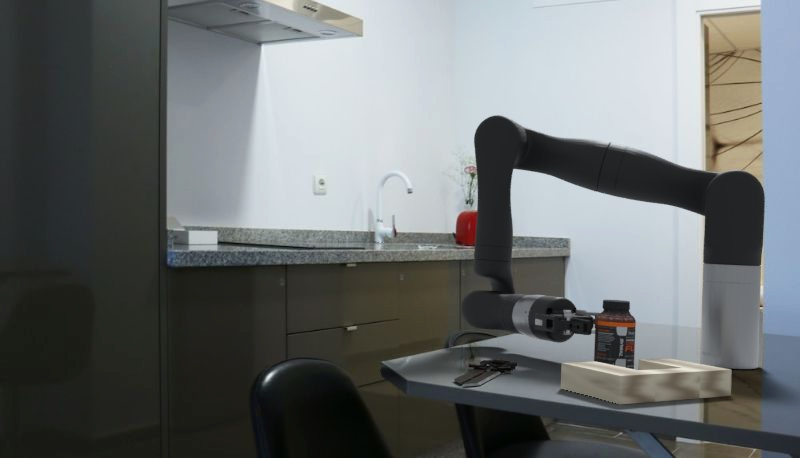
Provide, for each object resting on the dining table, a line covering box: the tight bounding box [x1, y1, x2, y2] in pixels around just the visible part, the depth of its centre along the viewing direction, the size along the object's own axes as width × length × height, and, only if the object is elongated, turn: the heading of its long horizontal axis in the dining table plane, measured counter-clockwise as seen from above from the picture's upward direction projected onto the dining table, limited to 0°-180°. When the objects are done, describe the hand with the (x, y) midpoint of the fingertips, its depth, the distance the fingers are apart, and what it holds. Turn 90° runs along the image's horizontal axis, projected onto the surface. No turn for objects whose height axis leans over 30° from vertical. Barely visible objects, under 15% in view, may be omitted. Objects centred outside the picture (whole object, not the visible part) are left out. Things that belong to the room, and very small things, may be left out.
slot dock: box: [560, 357, 733, 405], centre depth 112 cm, size 20×11×4 cm, turn 119°
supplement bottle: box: [593, 299, 637, 369], centre depth 127 cm, size 6×6×11 cm
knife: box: [453, 358, 518, 388], centre depth 122 cm, size 25×6×1 cm, turn 155°
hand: (611, 327), depth 128 cm, fingers open, 8 cm apart
